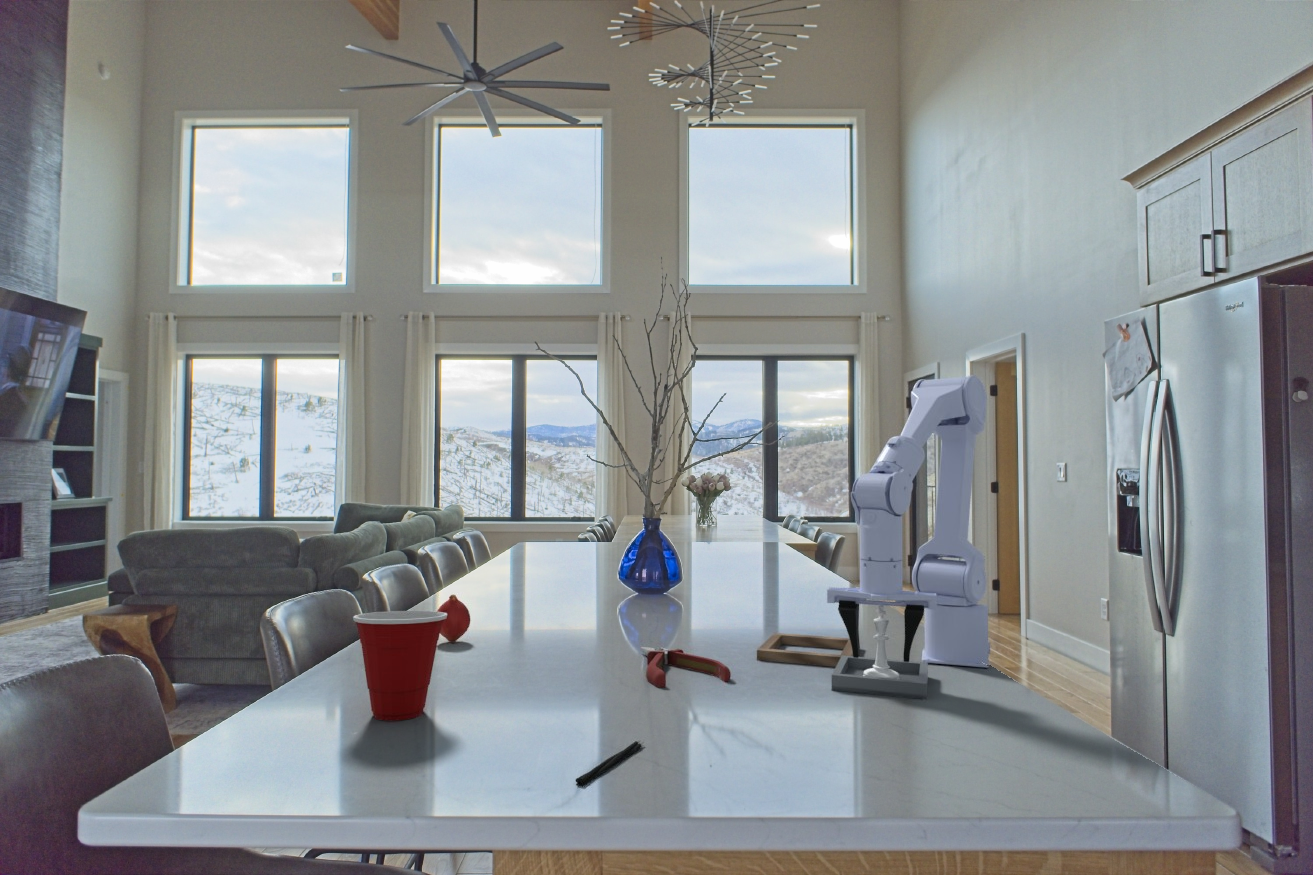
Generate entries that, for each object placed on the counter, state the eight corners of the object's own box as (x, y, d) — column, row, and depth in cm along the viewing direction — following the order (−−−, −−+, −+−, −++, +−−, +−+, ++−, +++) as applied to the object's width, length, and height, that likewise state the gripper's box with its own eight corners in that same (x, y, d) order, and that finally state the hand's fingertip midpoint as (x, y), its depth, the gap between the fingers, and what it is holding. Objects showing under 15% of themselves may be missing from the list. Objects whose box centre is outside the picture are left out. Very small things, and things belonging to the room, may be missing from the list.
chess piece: (887, 672, 113) (887, 602, 114) (906, 681, 109) (906, 608, 109) (856, 674, 112) (856, 603, 113) (874, 683, 107) (874, 609, 108)
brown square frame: (858, 648, 131) (858, 639, 131) (849, 668, 118) (849, 657, 118) (774, 641, 136) (774, 632, 136) (756, 659, 123) (756, 649, 123)
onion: (433, 639, 135) (434, 592, 136) (468, 637, 137) (469, 590, 137) (435, 646, 130) (435, 597, 130) (471, 644, 131) (471, 596, 132)
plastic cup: (453, 699, 100) (455, 603, 101) (436, 727, 90) (438, 619, 90) (365, 700, 99) (367, 603, 100) (337, 728, 89) (340, 620, 89)
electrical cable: (637, 747, 84) (637, 737, 85) (645, 748, 84) (645, 739, 84) (574, 787, 74) (575, 776, 74) (584, 789, 73) (584, 778, 73)
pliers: (682, 652, 129) (682, 636, 129) (734, 685, 110) (734, 666, 110) (614, 658, 125) (614, 641, 125) (656, 692, 106) (656, 672, 106)
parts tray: (927, 676, 113) (927, 662, 113) (926, 699, 102) (926, 683, 102) (841, 668, 117) (841, 655, 117) (831, 689, 106) (831, 674, 106)
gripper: (824, 559, 109) (824, 659, 108) (936, 564, 104) (936, 669, 104) (830, 554, 116) (830, 649, 115) (936, 559, 111) (936, 657, 110)
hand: (881, 658), depth 110 cm, fingers open, 6 cm apart
